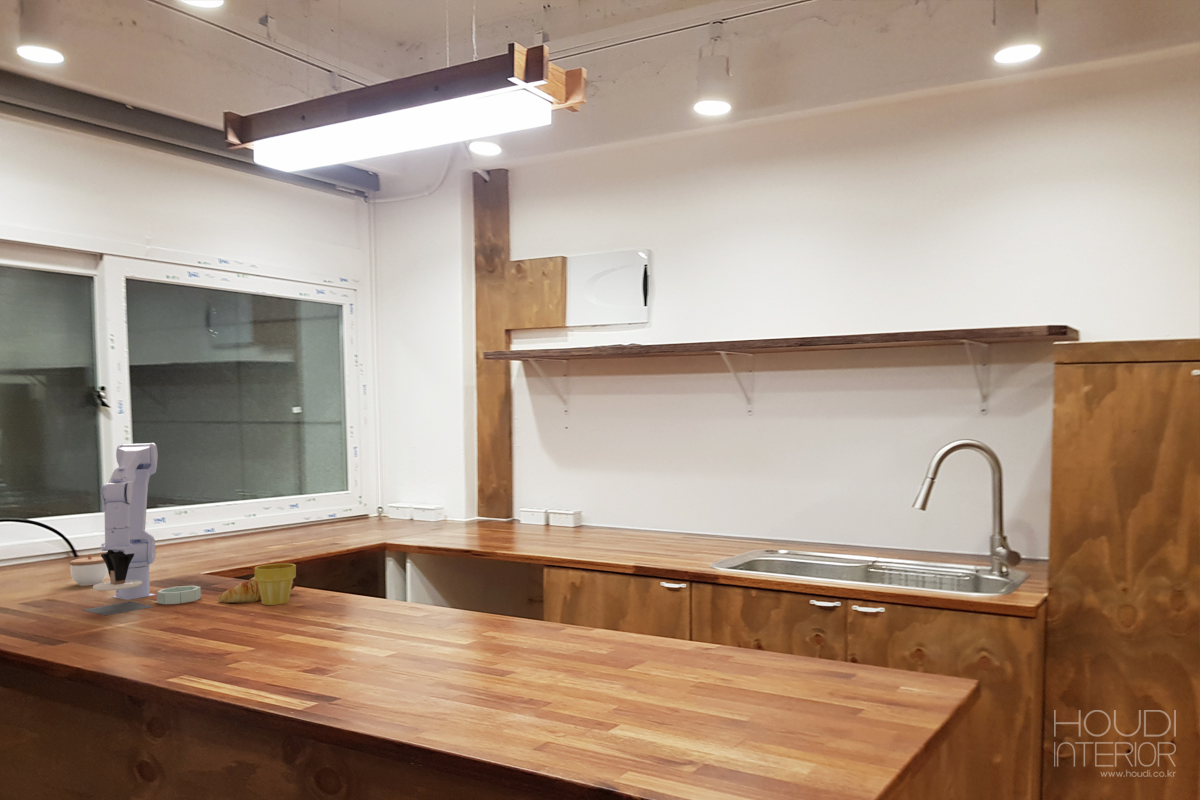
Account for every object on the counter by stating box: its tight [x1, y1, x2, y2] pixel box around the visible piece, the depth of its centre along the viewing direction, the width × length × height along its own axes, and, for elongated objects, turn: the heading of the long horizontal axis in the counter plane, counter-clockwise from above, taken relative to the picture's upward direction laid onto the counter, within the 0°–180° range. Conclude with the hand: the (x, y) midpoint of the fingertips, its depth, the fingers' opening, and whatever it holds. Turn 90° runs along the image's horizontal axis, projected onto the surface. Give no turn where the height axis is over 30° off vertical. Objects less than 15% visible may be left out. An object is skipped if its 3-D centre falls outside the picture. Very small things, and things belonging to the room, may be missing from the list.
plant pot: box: [254, 562, 297, 606], centre depth 227 cm, size 10×10×10 cm
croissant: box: [216, 576, 296, 604], centre depth 234 cm, size 21×10×8 cm, turn 135°
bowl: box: [156, 585, 202, 605], centre depth 232 cm, size 10×10×4 cm
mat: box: [82, 601, 155, 616], centre depth 223 cm, size 14×12×1 cm
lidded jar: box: [69, 553, 109, 587], centre depth 269 cm, size 11×11×9 cm
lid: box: [92, 570, 142, 592], centre depth 224 cm, size 11×11×4 cm
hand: (118, 579), depth 224 cm, fingers closed on lid, 3 cm apart
